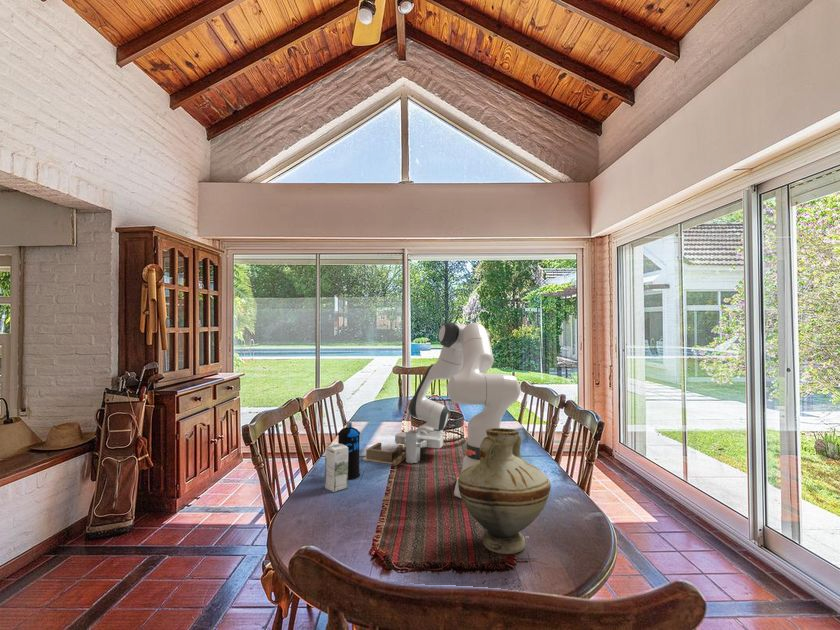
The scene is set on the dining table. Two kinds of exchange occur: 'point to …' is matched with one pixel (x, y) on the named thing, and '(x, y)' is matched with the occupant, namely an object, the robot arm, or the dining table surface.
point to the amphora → (503, 491)
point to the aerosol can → (351, 448)
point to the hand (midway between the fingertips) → (412, 444)
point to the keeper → (382, 454)
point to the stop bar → (412, 446)
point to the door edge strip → (399, 459)
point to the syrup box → (336, 467)
